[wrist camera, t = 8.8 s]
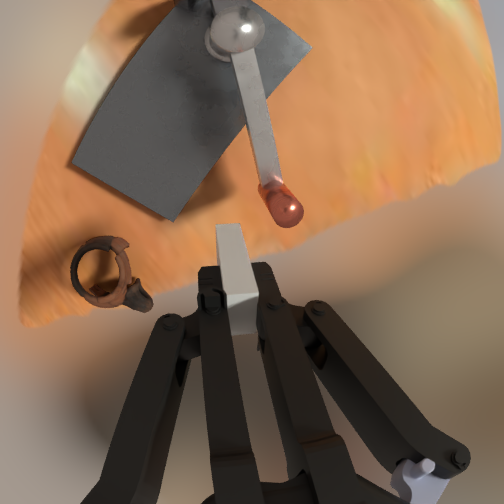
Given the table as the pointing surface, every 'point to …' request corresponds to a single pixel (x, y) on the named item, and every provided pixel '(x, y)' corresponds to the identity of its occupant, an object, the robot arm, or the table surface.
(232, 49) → the lever
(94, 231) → the table surface
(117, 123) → the base board
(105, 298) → the pottery mug
